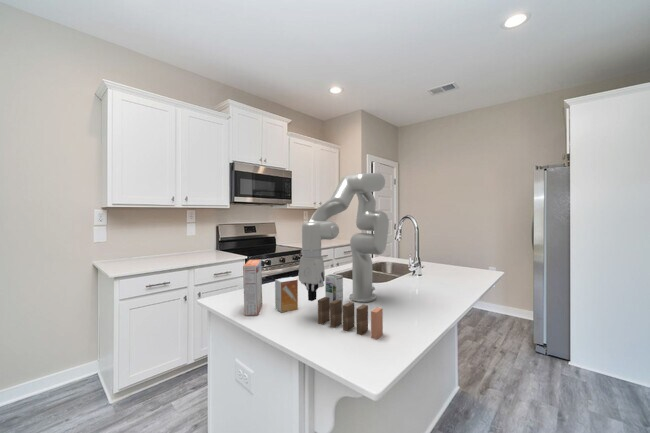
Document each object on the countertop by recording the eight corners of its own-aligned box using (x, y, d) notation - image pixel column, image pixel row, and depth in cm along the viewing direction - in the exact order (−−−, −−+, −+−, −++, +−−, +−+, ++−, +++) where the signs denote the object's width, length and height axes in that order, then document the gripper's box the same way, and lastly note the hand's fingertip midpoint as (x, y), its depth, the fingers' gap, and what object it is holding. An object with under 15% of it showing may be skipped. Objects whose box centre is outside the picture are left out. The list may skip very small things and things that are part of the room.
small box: (281, 312, 121) (280, 282, 121) (275, 308, 126) (274, 279, 126) (298, 309, 125) (297, 279, 125) (291, 305, 131) (291, 276, 130)
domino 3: (342, 330, 103) (342, 305, 103) (349, 325, 107) (349, 301, 107) (347, 331, 102) (347, 306, 102) (354, 326, 106) (354, 302, 106)
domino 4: (356, 334, 100) (356, 308, 100) (363, 329, 104) (362, 304, 104) (361, 335, 99) (361, 309, 99) (368, 330, 103) (367, 305, 103)
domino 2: (330, 326, 106) (329, 302, 106) (337, 322, 110) (337, 299, 110) (334, 328, 105) (334, 303, 105) (341, 323, 109) (341, 300, 109)
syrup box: (324, 308, 126) (324, 275, 125) (333, 305, 130) (333, 273, 130) (334, 311, 122) (334, 277, 122) (343, 308, 126) (343, 275, 126)
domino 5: (371, 337, 97) (370, 311, 97) (377, 332, 101) (377, 307, 101) (376, 339, 96) (376, 312, 95) (382, 333, 100) (382, 308, 100)
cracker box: (249, 304, 131) (248, 259, 131) (262, 304, 132) (262, 259, 131) (243, 316, 117) (242, 265, 117) (258, 315, 118) (257, 264, 117)
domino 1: (318, 323, 109) (317, 300, 109) (325, 319, 113) (325, 296, 113) (322, 324, 108) (322, 301, 108) (329, 320, 112) (329, 297, 112)
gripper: (291, 253, 115) (291, 299, 115) (321, 256, 106) (322, 306, 106) (303, 251, 121) (303, 294, 121) (332, 254, 112) (333, 300, 113)
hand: (312, 299), depth 114 cm, fingers closed
